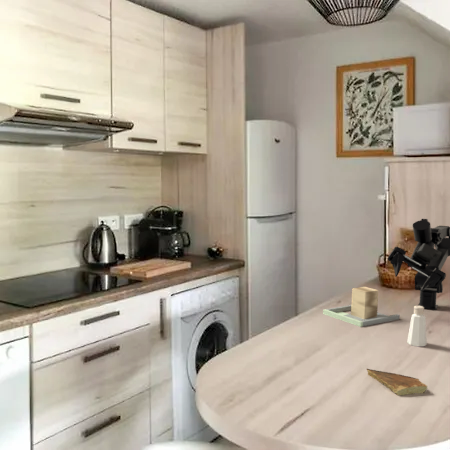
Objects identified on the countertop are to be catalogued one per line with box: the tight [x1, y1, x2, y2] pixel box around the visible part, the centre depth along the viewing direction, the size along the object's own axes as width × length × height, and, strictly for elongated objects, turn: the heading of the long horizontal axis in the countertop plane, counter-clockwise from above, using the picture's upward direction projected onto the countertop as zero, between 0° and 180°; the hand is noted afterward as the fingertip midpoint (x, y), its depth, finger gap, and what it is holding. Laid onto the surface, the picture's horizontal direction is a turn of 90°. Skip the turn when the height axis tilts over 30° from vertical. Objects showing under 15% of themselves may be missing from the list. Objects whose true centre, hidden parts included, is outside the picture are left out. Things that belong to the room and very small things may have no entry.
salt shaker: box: [406, 305, 428, 347], centre depth 154 cm, size 5×5×11 cm
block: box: [350, 286, 379, 319], centre depth 178 cm, size 6×6×9 cm
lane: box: [322, 304, 401, 328], centre depth 178 cm, size 18×17×3 cm
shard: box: [366, 368, 428, 396], centre depth 126 cm, size 13×9×2 cm
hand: (409, 283), depth 176 cm, fingers open, 9 cm apart
